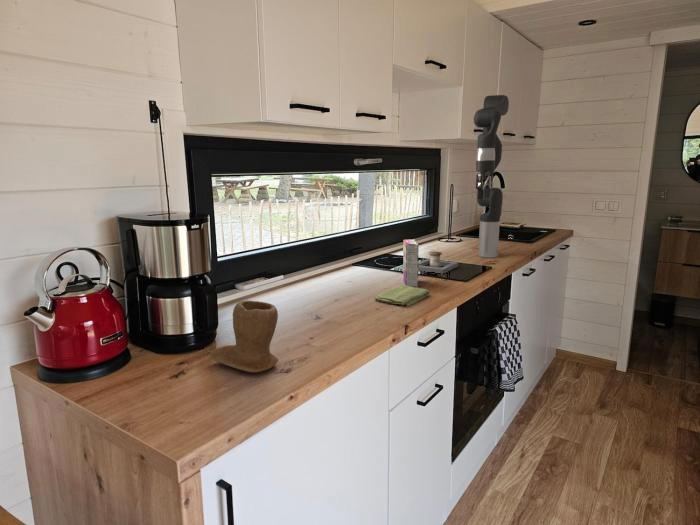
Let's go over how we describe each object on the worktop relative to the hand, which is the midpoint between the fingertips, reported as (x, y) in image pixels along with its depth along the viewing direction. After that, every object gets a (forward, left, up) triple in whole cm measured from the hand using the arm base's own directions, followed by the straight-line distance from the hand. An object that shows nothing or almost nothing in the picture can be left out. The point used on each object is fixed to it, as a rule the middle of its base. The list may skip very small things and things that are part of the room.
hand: (483, 198), depth 203 cm
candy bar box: (+40, -14, -30) cm, 52 cm away
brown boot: (+127, -12, -30) cm, 131 cm away
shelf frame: (+11, -17, -30) cm, 36 cm away
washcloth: (+60, -7, -31) cm, 67 cm away
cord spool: (+10, -17, -30) cm, 36 cm away
